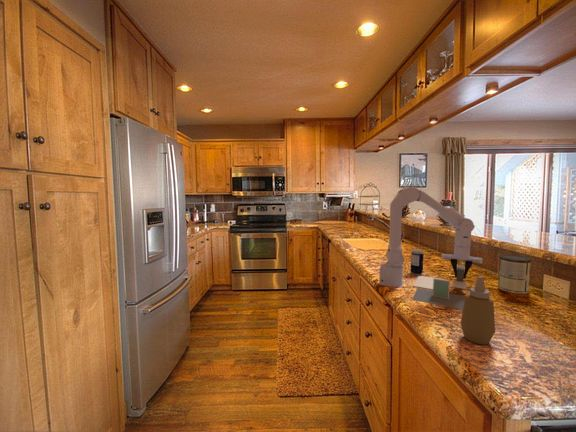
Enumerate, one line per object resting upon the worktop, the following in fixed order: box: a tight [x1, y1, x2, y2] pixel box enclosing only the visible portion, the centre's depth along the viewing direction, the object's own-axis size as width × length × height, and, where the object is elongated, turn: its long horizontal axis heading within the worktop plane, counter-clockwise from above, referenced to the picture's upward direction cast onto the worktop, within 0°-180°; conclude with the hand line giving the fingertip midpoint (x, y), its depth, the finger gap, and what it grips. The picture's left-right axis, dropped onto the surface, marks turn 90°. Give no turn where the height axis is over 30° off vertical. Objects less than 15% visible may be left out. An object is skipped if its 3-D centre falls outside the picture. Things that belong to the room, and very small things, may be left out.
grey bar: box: [451, 264, 468, 290], centre depth 116 cm, size 5×15×6 cm, turn 147°
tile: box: [432, 277, 451, 299], centre depth 108 cm, size 6×2×7 cm, turn 57°
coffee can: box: [497, 254, 532, 295], centre depth 117 cm, size 10×10×14 cm
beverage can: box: [410, 249, 425, 276], centre depth 140 cm, size 6×6×12 cm
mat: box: [411, 287, 466, 311], centre depth 106 cm, size 19×15×1 cm
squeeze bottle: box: [460, 276, 496, 345], centre depth 77 cm, size 8×8×18 cm
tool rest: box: [412, 275, 435, 291], centre depth 124 cm, size 8×17×1 cm, turn 147°
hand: (460, 277), depth 117 cm, fingers closed on grey bar, 2 cm apart
